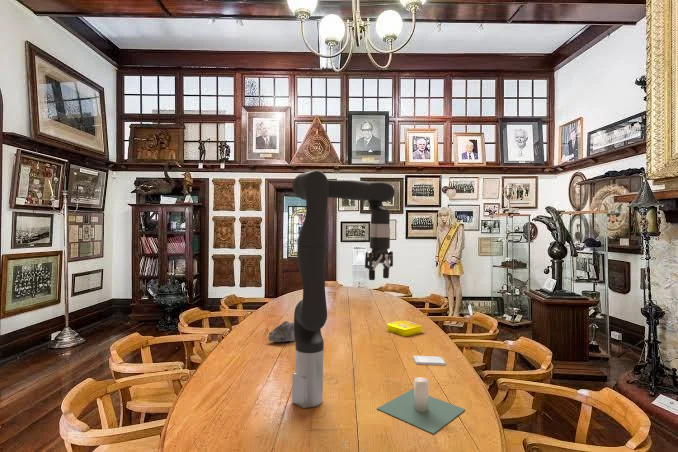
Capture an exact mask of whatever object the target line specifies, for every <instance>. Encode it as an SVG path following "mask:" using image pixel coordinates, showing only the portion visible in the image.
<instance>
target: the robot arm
mask: <svg viewBox="0 0 678 452" xmlns="http://www.w3.org/2000/svg"><path fill="white" fill-rule="evenodd" d="M327 177H328V176H326V174H325V173H324V172H323V171H321V170H310V171H305V172H302V173H300V174H298V175H297V176H295V178H294V180H293V181H292V191H293V193H294V194H295V196H296V197H297V198H299V199H301V200H303V201H305V205H306V206H305V208H306V209H305V217H304V220H303V223H302V225H301V229H300V231H299V234H298V239H297V265H298V268H299V269H298V270H299V274H300V279H301V282H302V284H301V285H302V299H301V300H300V301H298V302H297V304H296V306H295V308H294V313H293V314H294V315H293V322H294V338H295V341H294V342H295V354H294V358H295V361H294V372H292V382H291V383H292V384H291V385H292V389H291V402H292V403H293V404H295V405H296V406H298V407H301V408H303V409H307V408H314V407H318V406H319V405H321V404H322V403H323V398H324V397H323V394H324V393H323V392H324V391H323V390H324V354H325V353H324V349H325V348H324V347H325V346H324V344H325V343H324V338H323V336H322V331H321V329H323V327H324V326H325V325H326V322H327V319H328V305H327V298H326V297H327V296H326V263H327V262H326V261H327V242H326V239H327V238H326V237H327V235H326V234H327V233H326V232H327V231H326V230H327V208H328V202H329V201H328V198H329V199H330V198H332V199H342V200H352V201H362V202H363V201H368V205H369V210H370V213H371V215H370V229H369V249H371V251H366V252H365V256H364V257H365V259H364V268H365V269H367V270H368V280H369V281H375V279H376V268H377V266H378V265H379V264H381V265H382V268H383V269H382V277H383V279H389V278H390V277H389V276H390V268H392V267H394V252H393V250H389V249H390V248H391V228H390V226H391V225H390V224H391V223H390V222H391V221H390V220H391V219H390V216H391V215H390V214H391V213H390V210H389V209H387V208H385V207H384V205H383V203H384V202H385V203H386V202H389V201H391V200H393V198H394V197H395V193H396V191H395V187H394V186H393V185H392V184H390V183H388V182H384V181H383V182H382V181H380V182H375V181H374V182H372V181H371V182H370V181H368V182H367V181H365V180H356V179H328V178H327Z"/></svg>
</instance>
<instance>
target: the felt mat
mask: <svg viewBox="0 0 678 452" xmlns="http://www.w3.org/2000/svg"><path fill="white" fill-rule="evenodd" d="M376 410H377V411H380V412H382V413H384V414H387V415H389V416H391V417H394V418H395V419H398V420H401V421H402V422H405V423H407V424H409V425H411V426H413V427H416V428H418V429H420V430H423V431H424V432H427V433H429V434H432V435H435V434H436V433H437V432H438V431H440V430H442V428H444V427H445V426H447V425H448V424H450V423H451V422H452V421H453V420H454V419H455V418H457V417H458V416H460V415H461V414H463V413H464V412H465V411H466V408H464V407H461V406H457V405H455V404H452V403H449V402H446V401H444V400H441V399H439V398H437V397H434V396H431V395H428V411H427V412H418V411H416V410H414V389H410V390H408V391H406V392H404V393H402V394H400V395H399V396H397V397H395V398H393V399H392V400H390V401H388V402H386V403H384V404H382V405H380V406H379V407H377V408H376Z"/></svg>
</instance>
